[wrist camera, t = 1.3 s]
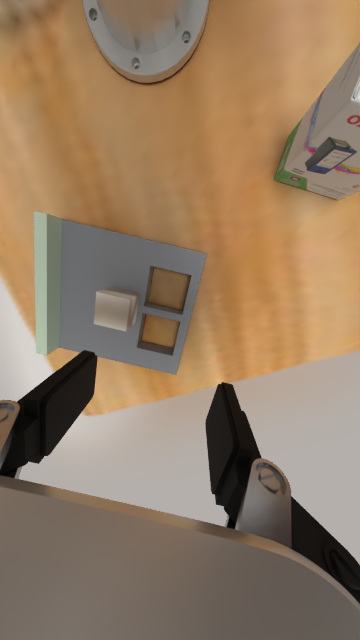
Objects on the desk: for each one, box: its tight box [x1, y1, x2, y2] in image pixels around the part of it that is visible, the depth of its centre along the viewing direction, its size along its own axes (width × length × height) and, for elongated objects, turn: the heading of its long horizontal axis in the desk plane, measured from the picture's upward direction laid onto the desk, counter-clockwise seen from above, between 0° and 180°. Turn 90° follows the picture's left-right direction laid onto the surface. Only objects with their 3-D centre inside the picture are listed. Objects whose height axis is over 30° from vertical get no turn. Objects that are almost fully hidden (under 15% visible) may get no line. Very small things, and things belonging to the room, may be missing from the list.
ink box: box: [275, 43, 360, 200], centre depth 16 cm, size 9×5×12 cm, turn 74°
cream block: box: [94, 288, 140, 331], centre depth 23 cm, size 4×4×4 cm
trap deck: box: [34, 211, 207, 375], centre depth 25 cm, size 18×21×5 cm
